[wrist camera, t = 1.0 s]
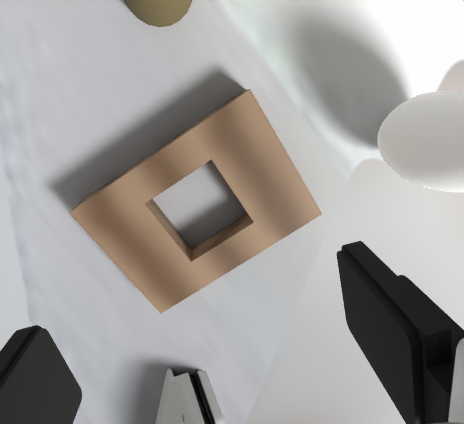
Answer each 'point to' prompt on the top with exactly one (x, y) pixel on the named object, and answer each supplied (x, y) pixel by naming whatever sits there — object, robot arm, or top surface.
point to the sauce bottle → (426, 140)
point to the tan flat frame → (176, 168)
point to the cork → (159, 11)
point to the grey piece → (188, 400)
